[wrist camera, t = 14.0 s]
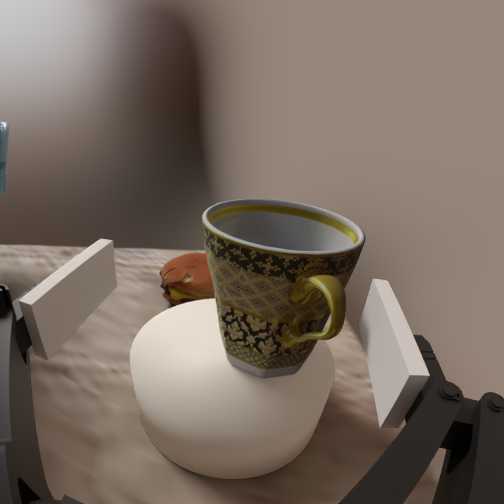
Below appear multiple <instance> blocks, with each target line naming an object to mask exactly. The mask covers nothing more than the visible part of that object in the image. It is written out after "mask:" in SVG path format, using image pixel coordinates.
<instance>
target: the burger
mask: <svg viewBox="0 0 504 504" xmlns="http://www.w3.org/2000/svg"><path fill="white" fill-rule="evenodd" d="M160 275H161V277H162V279H163V282H162V284H161V286H160V287H161V288H163V289H164V290H165V292H164V293H163V297H164V298H166V299H168V301H169V302H170V303H171V304H176V305H180V304H184V303H187V302H192V301H197V300H204V299H215V294H214V286H213V281H212V278H211V274H210V270H209V267H208V263H207V256H206V254H204V253H189V254H185V255H182V256H179V257H177V258H174V259H172V260H170V261H169V262H168V263H167V264H165V265H164V266H163V268H162V269H161V271H160Z"/></svg>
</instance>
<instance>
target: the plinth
mask: <svg viewBox="0 0 504 504" xmlns="http://www.w3.org/2000/svg"><path fill="white" fill-rule="evenodd" d="M130 368H131V373H132V379H133V384H134V388H135V393H136V398H137V403H138V407H139V411H140V416H141V420H142V424H143V426H144V429H145V431H146V433H147V435H148V437H149V438H150V440H151V441H152V443H153V444H154V445H155V446H156V447H157V449H158V450H159V451H160V452H161V453H163V454H164V455H165V456H166V457H167V458H168V459H170V460H171V461H173V462H174V463H176V464H177V465H179V466H181V467H183V468H185V469H187V470H189V471H192V472H195V473H198V474H201V475H204V476H209V477H214V478H220V479H246V478H252V477H257V476H261V475H264V474H267V473H270V472H273V471H275V470H277V469H279V468H281V467H283V466H285V465H286V464H288V463H289V462H291V461H292V460H294V459H295V458H296V457H297V456H298V455H299V454H300V453H301V452H302V451H303V450H304V448H305V447H306V446H307V445H308V443H309V441H310V439H311V437H312V435H313V433H314V431H315V428H316V426H317V424H318V421H319V419H320V416H321V414H322V411H323V409H324V406H325V404H326V401H327V399H328V396H329V394H330V391H331V388H332V385H333V381H334V376H335V366H334V360H333V356H332V353H331V351H330V349H329V347H328V345H327V344H326V342H325V341H324V340H318V341H317V343H316V345H315V347H314V349H313V351H312V352H311V354H310V355H309V357H308V358H307V360H306V361H305V362H304V364H303V365H302V367H301V368H300V369H299V371H298V372H296V374H294V375H287V376H280V377H272V378H264V379H262V378H260V377H257V376H255V375H253V374H251V373H249V372H247V371H245V370H243V369H241V368H238V367H236V366H234V365H232V364H231V363H230V362H229V361H228V360H227V357H226V353H225V350H224V346H223V343H222V339H221V334H220V329H219V322H218V314H217V307H216V301H215V299H204V300H197V301H192V302H187V303H184V304H180V305H177V306H175V307H172V308H169V309H167V310H165V311H163V312H161V313H160V314H158V315H157V316H155V317H153V318H152V319H151V320H150V321H149V322H147V323H146V324H145V325H144V326H143V327H142V329H141V330H140V331H139V333H138V334H137V336H136V337H135V339H134V342H133V344H132V347H131V352H130Z"/></svg>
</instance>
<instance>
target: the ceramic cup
mask: <svg viewBox="0 0 504 504" xmlns="http://www.w3.org/2000/svg"><path fill="white" fill-rule="evenodd" d="M202 222H203V233H204V243H205V250H206V256H207V263H208V267H209V270H210V274H211V278H212V281H213V286H214V294H215V301H216V307H217V314H218V322H219V329H220V334H221V339H222V343H223V346H224V350H225V353H226V357H227V360H228V361H229V362H230V363H231V364H232V365H234V366H236V367H238V368H241V369H243V370H245V371H247V372H249V373H251V374H253V375H255V376H257V377H260V378H262V379H264V378H272V377H280V376H287V375H294V374H296V372H298V371H299V369H300V368H301V367H302V365H303V364H304V362H305V361H306V360H307V358H308V357H309V355H310V354H311V352H312V351H313V349H314V347H315V345H316V343H317V341H318V340H329V339H331V338H333V337H335V336H336V335H338V334H339V332H340V331H341V329H342V327H343V324H344V319H345V312H346V297H345V291H344V288H345V286H346V284H347V283H348V281H349V279H350V277H351V274H352V272H353V270H354V268H355V266H356V264H357V261H358V259H359V256H360V253H361V250H362V248H363V246H364V243H365V234H364V232H363V231H362V230H361V229H360V227H359V226H357V225H356V224H355V223H354V222H352V221H350V220H349V219H347V218H345V217H343V216H341V215H339V214H336V213H334V212H331V211H328V210H325V209H322V208H319V207H315V206H311V205H307V204H302V203H297V202H290V201H284V200H274V199H238V200H231V201H226V202H222V203H218V204H216V205H213V206H211V207H210V208H208V209H207V210H206V211H205V212H204V213H203V216H202ZM330 314H331V322H330V326H329V328H328V330H327V331H326V332H322V330H323V328H324V326H325V324H326V322H327V320H328V318H329V316H330Z"/></svg>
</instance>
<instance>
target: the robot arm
mask: <svg viewBox="0 0 504 504" xmlns="http://www.w3.org/2000/svg"><path fill="white" fill-rule="evenodd" d="M8 138H9V125H8V123H6V122H0V198H1V197H2V196H3V195H4V193H5V192H6V184H7V155H8ZM116 287H117V284H116V274H115V263H114V251H113V241H112V240H105V239H100V240H98V241H97V242H96V243H94V244H93V245H91V246H90V247H88V248H87V249H85V250H84V251H83V252H81V253H80V254H78V255H77V256H76V257H74V258H73V259H72V260H70V261H69V262H67V263H66V264H65V265H63V266H62V267H61V268H59V269H58V270H57V271H55V272H54V273H53V274H51V275H50V276H48V277H46V278H43V279H41V280H40V281H38V282H37V283H36V284H35V285H34V286H32V287H31V288H29V290H27V291H26V292H24V293H23V294H22V295H21V296H19V297H18V298H17V299H16V300H14V301H13V302H12V300H11V296H10V292H9V289H8V286H7V285H5V284H0V504H83V503H81V502H79V501H77V500H75V499H73V498H70V497H68V496H66V495H64V497H63V498H62V500H61V501H60V500H54V498H53V496H52V495H51V493H50V491H49V489H48V487H47V484H46V480H45V475H44V471H43V466H42V461H41V456H40V451H39V445H38V439H37V433H36V426H35V419H34V410H33V401H32V390H31V376H30V356H29V352H28V350H27V349H28V348H29V347H30V346H31V345H32V346H33V349H34V351H35V354H36V355H37V356H39V357H41V358H44V359H46V360H48V361H49V359H50V358H51V357H52V356H53V355H54V354H55V353H56V351H57V350H58V349H59V348H60V347H61V346H62V345H63V344H64V343H65V341H66V340H67V339H68V338H69V337H70V336H71V335H72V334H73V333H74V332H75V330H76V329H77V328H78V327H79V326H80V325H81V324H82V323H83V322H84V321H85V320H86V319H87V317H88V316H89V315H90V314H91V313H92V312H93V311H94V310H95V309H96V308H97V307H98V306H99V305H100V304H101V303H102V302H103V301H104V300H105V298H106V297H107V296H108V295H109V294H110V293H111V292H112V291H113V290H114V289H115V288H116ZM359 329H360V333H361V337H362V342H363V346H364V350H365V355H366V359H367V364H368V369H369V373H370V378H371V383H372V388H373V393H374V398H375V403H376V409H377V414H378V420H379V425H380V428H399V426H400V425H401V423H402V422H403V420H404V419H405V420H406V425H405V427H404V428H403V429H402V431H401V432H400V433H399V435H398V436H397V437H396V439H395V440H394V441H393V442H392V444H391V445H390V446H389V447H388V449H387V450H386V451H385V452H384V454H383V455H382V456H381V457H380V458H379V460H378V461H377V462H376V463H375V464H374V466H373V467H372V468H371V469H370V470H369V471H368V472H367V474H366V475H365V476H364V477H363V478H362V479H361V480H360V481H359V482H358V484H357V485H356V486H355V487H354V488H353V489H352V490H351V491H350V492H349V493H348V494H347V495H346V496H345V497H344V498H343V499H342V500H341V501H340V502H339V503H338V504H403V503H404V502H405V500H406V499H407V497H408V496H409V494H410V493H411V492H412V490H413V489H414V487H415V486H416V484H417V483H418V481H419V480H420V478H421V477H422V475H423V474H424V472H425V470H426V469H427V467H428V466H429V464H430V462H431V461H432V459H433V457H434V456H435V454H436V452H437V450H438V449H439V448H444V449H446V454H445V458H444V463H443V467H442V471H441V475H440V478H439V482H438V486H437V489H436V493H435V496H434V499H433V503H432V504H504V398H503V397H502V396H500V395H498V394H496V393H492V392H488V393H485V394H484V395H483V396H482V398H481V399H480V400H479V401H476V400H472V399H468V398H464V397H463V394H462V391H461V390H460V389H459V387H457V386H456V385H455V384H453V383H451V382H448V381H446V379H445V376H444V374H443V372H442V370H441V367H440V365H439V363H438V361H437V360H436V356H435V354H434V353H433V350H432V348H431V346H430V343H429V342H428V341H427V340H425V338H424V337H423V336H422V335H421V336H420V335H413V334H412V332H411V330H410V327H409V325H408V323H407V321H406V319H405V317H404V314H403V312H402V310H401V308H400V306H399V304H398V301H397V299H396V297H395V295H394V293H393V291H392V289H391V287H390V285H389V283H388V281H386V280H379V279H373V281H372V284H371V288H370V291H369V294H368V298H367V301H366V304H365V308H364V311H363V314H362V317H361V321H360V324H359Z"/></svg>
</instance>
